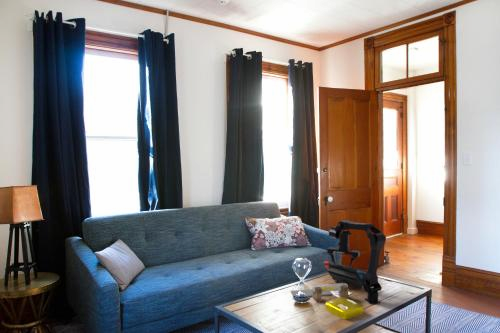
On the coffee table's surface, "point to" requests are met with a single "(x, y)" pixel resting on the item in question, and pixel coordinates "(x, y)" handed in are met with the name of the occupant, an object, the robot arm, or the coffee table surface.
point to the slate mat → (310, 292)
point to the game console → (345, 274)
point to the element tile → (344, 308)
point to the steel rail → (330, 287)
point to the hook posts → (318, 294)
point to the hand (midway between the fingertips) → (342, 265)
